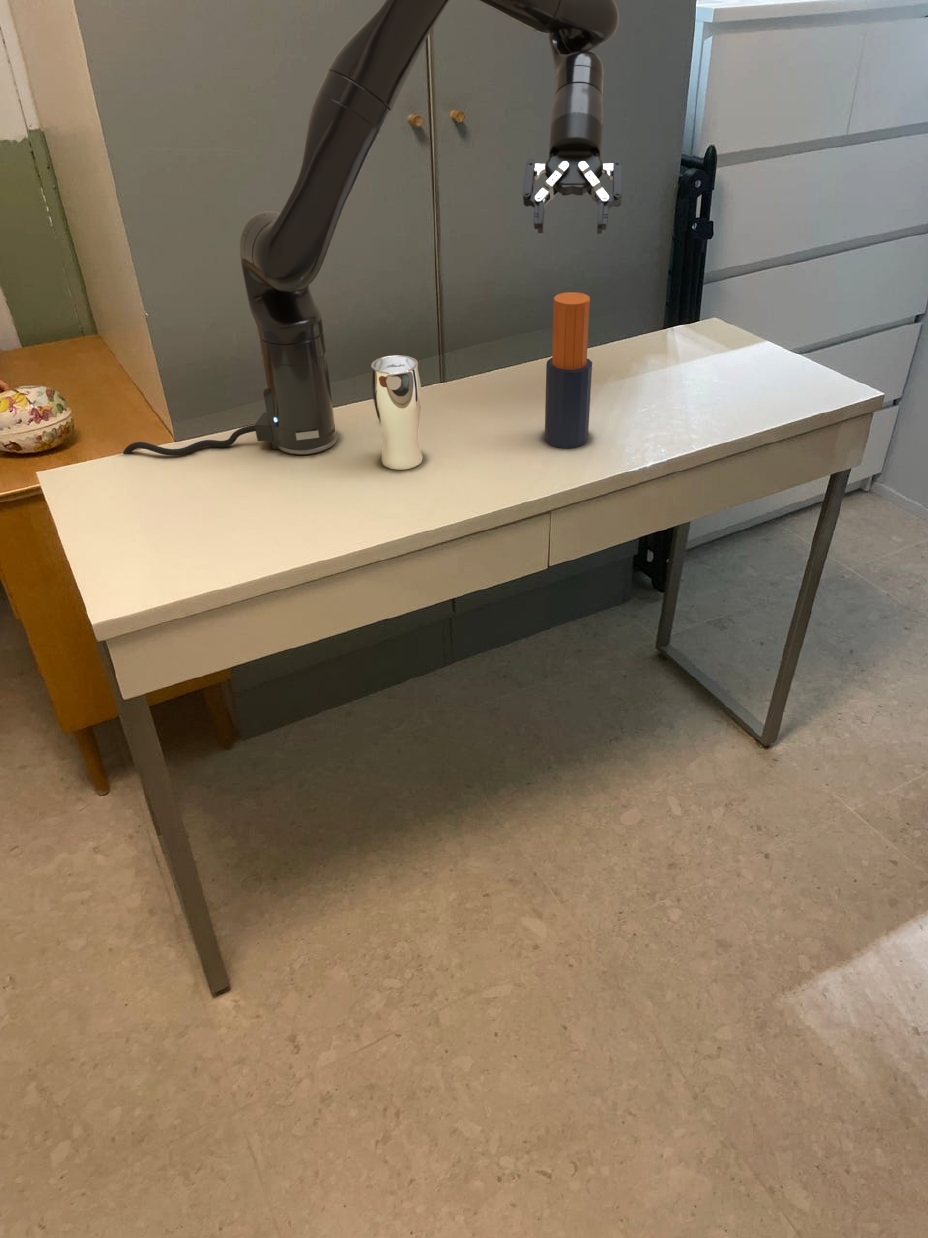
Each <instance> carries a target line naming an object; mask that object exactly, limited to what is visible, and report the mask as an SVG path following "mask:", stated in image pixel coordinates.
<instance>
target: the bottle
mask: <svg viewBox="0 0 928 1238" xmlns="http://www.w3.org/2000/svg"><path fill="white" fill-rule="evenodd" d="M545 365H546V366H545V367H546V368H545V369H546V370H545V405H544V406H545V407H544V408H545V409H544V440H545V443H547V444H548V445H549V446H552V447H556V448H560V449H574V448H579V447H582V446H584V445H585V444H586V443H587V442H588V440H589V429H590V427H589V426H590V411H591V393H592V390H591V389H592V376H593V375H592V374H593V361H591V359H590V358H588V357H587V365H586V366H585V367H583V368H581V369H576V370H563V369H559V368H556V367H554V366H553V365H552V357H550V358H549V359H548V360H547V361H546V364H545Z"/></svg>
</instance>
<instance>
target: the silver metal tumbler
mask: <svg viewBox="0 0 928 1238" xmlns="http://www.w3.org/2000/svg"><path fill="white" fill-rule="evenodd" d="M370 367H371V394H372V402H373V407H374V411H375V415H376V419H377V422H378V425H379V430H380V433H381V439H382V450H381V464H382V465H383V466H384V467H386V468H388V469H391V470H395V471H404V470H410V469H413V468H417V466H419V465H420V464H422V462H423V453H422V450H421V445H420V439H419V430H420V429H419V428H420V421H421V411H422V385H421V376H420V370H419V362H418V360H417V359H416V358H414V357H412V356H409V355H403V354H401V355H400V354H393V355H387V356H382V357H379V358H377V359H375V360H374V361H372V363H371V365H370Z"/></svg>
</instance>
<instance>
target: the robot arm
mask: <svg viewBox="0 0 928 1238" xmlns="http://www.w3.org/2000/svg"><path fill="white" fill-rule="evenodd" d="M450 1H451V0H385V1H384V2H383V3H382V5H381V6H380V7H379V9H377V11H376V12H375V13H374V14H373V15H372V16H371V17H370V18H369V20H368V21H366V22H365V23H364V24H363V25H362V26H361V27H360V28H358V30H357V31H356V32H355V33H354V34H353V35H352V36H351V37H350V38H349V39H348V40H347V41H346V42H345V44H344V45H343V46H342V47H341V48H340V49H339V50H338V52H337V53H336V55H335V56H334V58H333V59H332V61H331V63H330V65H329V66H328V69H327V71H326V73H325V75H324V77H323V80H322V82H321V84H320V85H319V88H318V90H317V92H316V95H315V97H314V99H313V102H312V104H311V108H310V111H309V114H308V119H307V124H306V130H305V136H304V137H305V138H304V147H303V153H302V159H301V165H300V169H299V172H298V175H297V177H296V180H295V183H294V184H293V185H294V186H293V187H292V190H291V191H290V194H289V196H288V198H287V200H286V202H285V203H284V206H283V207H282V209H281V210H280V212H279V211H276V210H275V211H274V210H265V211H264V210H263V211H260V212H257V213H255V214H254V215H252V216H251V217H250V218H249V219H248V220H247V221H246V223H245V224H244V226H243V228H242V230H241V233H240V237H239V244H238V245H239V246H238V247H239V258H240V259H239V260H240V266H241V271H242V276H243V281H244V285H245V291H246V296H247V300H248V305H249V309H250V313H251V315H252V317H253V319H254V322H255V324H256V328H257V332H258V338H259V345H260V350H261V356H262V362H263V368H264V374H265V380H266V386H265V388H264V389H263V399H264V404H265V405H264V406H265V409H266V411H264V412H262V414H261V415H260V416H259V418H258V419H257V421H256V422H255V424H252V425H248V426H244V427H241V428H238V429H237V430H235V431H233V432H232V434H231V435H230V436H229V438H228V439H225V440H217V439H204V440H199V441H196V442H194V443H191V444H189V445H187V446H184V447H182V448H181V447H180V448H167V447H162V446H158V445H156V444H152V443H150V442H145V441H134V442H132V443H130V444H128V445H127V446H126V447H125V448H124V450H123V451H122V454H123V455H129V454H131V453H132V452H133V451H135V450H137V449H143V450H147V451H150V452H153V453H156V454H159V455H164V456H171V457H172V456H183V455H186V454H189V453H192V452H194V451H197V450H199V449H201V448H207V447H213V448H214V447H215V448H226V447H230V446H232V445H233V444H234V443H235V442H236V441H237V439H238V438H239V437H241V436H243V435H245V434H249V433H253V432H255V436H256V441H257V442H271V445H272V449H274V450H280V451H281V452H283V453H287V454H291V455H301V456H302V455H312V454H317V453H321V452H323V451H326V450H328V449H330V448H332V447H333V446H335V444H336V443H337V441H338V435H337V433H338V432H337V431H336V423H335V416H334V415H335V414H334V407H333V406H334V405H333V398H332V390H331V382H330V374H329V366H328V357H327V350H326V343H325V333H324V325H323V319H322V314H321V311H320V309H319V307H318V305H317V304H316V302H315V300H314V298H313V295H312V292H311V289H310V284H312V283H313V282H314V280H315V279H316V277H317V276H318V274H319V273H320V270H321V268H322V265H323V263H324V261H325V258H326V256H327V253H328V251H329V248H330V245H331V242H332V239H333V236H334V234H335V231H336V228H337V226H338V223H339V220H340V218H341V215H342V213H343V210H344V207H345V206H346V202H347V201H348V199H349V197H350V195H351V192H352V191H353V189H354V187H355V186H356V183H357V181H358V179H359V177H360V175H361V173H362V171H363V169H364V166H365V165H366V162H367V160H368V158H369V156H370V153H371V152H372V150H373V148H374V146H375V144H376V142H377V140H378V139H379V137H380V134H381V133H382V131H383V129H384V127H385V125H386V123H387V120H388V118H389V116H390V114H391V112H392V111H393V108H394V106H395V104H396V101H397V99H398V97H399V94H400V92H401V90H402V88H403V86H404V85H405V82H406V80H407V78H408V76H409V74H410V72H411V70H412V68H413V67H414V65H415V63H416V61H417V59H418V57H419V54H420V53H421V50H422V48H423V47H424V45H425V43H426V41H427V39H428V37H429V36H430V34H431V32H432V30H433V28H434V27H435V25H436V23H437V22H438V20H439V18H440V17H441V15H442V13H443V12H444V10H445V9H446V7H447V6H448V4H449V2H450ZM478 1H479V2H480V3H482V4H484V5H486V6H488V7H489V8H491V9H493V10H495V11H496V12H498V13H500V14H502V15H504V17H505V16H506V17H507V18H509V19H511V20H513V21H515V22H516V23H518V24H520V25H522V26H524V27H525V28H527V29H530V30H532V31H534V32H536V33H538V34H541V35H547V41H548V45H549V49H550V52H551V57H552V62H553V66H554V71H555V86H554V99H553V100H554V101H553V104H552V110H551V121H550V136H549V150H548V159H547V161H546V162H545V163H537V162H536V161H535V160H534V159H533V158H529V159H528V160H527V161H526V166H525V172H524V180H523V188H522V200H523V205H524V207H532V208H533V228H534V230H537V234H544V226H545V225H544V224H545V223H544V222H545V207H546V206H547V205H548V204H549V203H550V202H553V201H554V199H555V198H556V197H557V196H558V194H561V196H570V195H574V196H584V194H587V195H588V196H589V197H590V199H591V200H592V201H593V202H595V204H596V205H597V206H598V209H597V227H596V228H597V229H596V234H597V235H601V234H603V231H606V230H607V228H608V219H609V217H608V216H609V210H610V209H611V208H613V207H616V208H619V207H621V205H622V197H623V161H622V160H621V159H620V158H615V159H614V160H613V162H607V163H604V162H603V161H602V158H601V157H602V140H603V128H604V122H603V121H604V106H603V95H604V94H603V93H604V74H605V73H604V64H603V62H602V60H601V58H600V56H598V55H597V54H596V53H593V52H591V51H593V50H595V49H596V48H598V47H600V46H602V45H603V44H605V43H606V42H608V41H609V40H610V39H611V38H612V37H613V36H614V35H615V34H616V32H617V29H618V28H619V23H620V13H619V8H618V6H617V3H616V2H615V0H478ZM603 174H605V175H606V177H607V179H608V180H609V181H610V182H611V181H612V193H608V192H607V191H606V190H605V188H604V187H603V185H602V183H601V181H600V178H601V177H602V176H603ZM542 175H545V176H546V178H547V179H546V180H545V182H544V183H543V186H542V187H541V189H539V191H538V192H536V193H534V189H535V182H537V181H538V180H539V179H540V178H541V176H542Z"/></svg>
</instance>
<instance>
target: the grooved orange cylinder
mask: <svg viewBox="0 0 928 1238" xmlns="http://www.w3.org/2000/svg"><path fill="white" fill-rule="evenodd" d="M590 305H591V297H590V296H589V295H588V294H586V293H583V292H578V291H577V292H576V291H575V292H574V291H569V292H568V291H567V292H562V293H558V294H556V295H555V296H554V297H553V310H552V311H553V315H552V344H551V345H552V347H551V348H552V350H551V358H552V365H553V366H554V367H556V368H559V369H563V370H576V369H581V368H583V367H585V366H586V365H587V358H588V345H589V327H590V309H591V308H590V307H591V306H590Z"/></svg>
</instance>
